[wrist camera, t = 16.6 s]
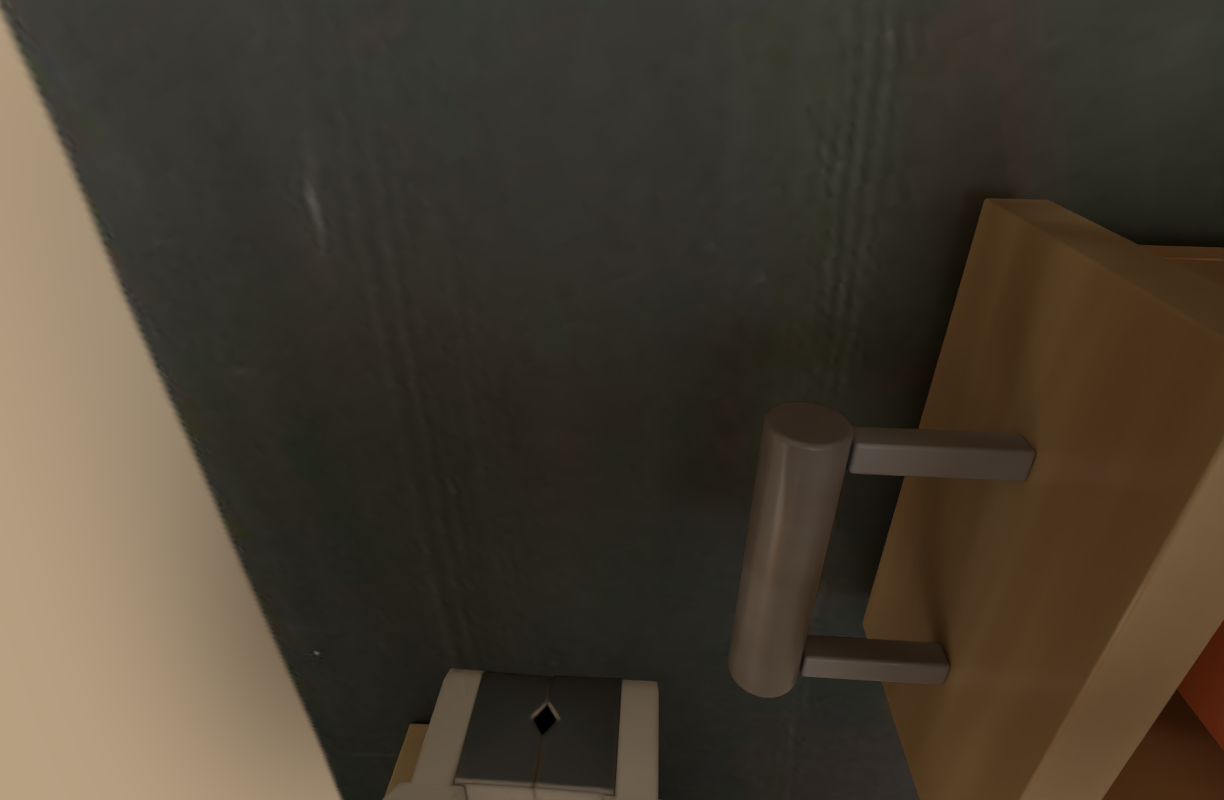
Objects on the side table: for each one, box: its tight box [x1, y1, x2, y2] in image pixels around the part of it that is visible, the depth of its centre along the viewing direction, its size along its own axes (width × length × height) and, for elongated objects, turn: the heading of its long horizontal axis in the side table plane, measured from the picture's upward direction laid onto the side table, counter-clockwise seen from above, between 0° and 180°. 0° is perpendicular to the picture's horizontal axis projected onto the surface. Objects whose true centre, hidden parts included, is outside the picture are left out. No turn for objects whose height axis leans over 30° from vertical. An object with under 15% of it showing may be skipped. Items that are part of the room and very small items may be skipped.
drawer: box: [728, 198, 1224, 800], centre depth 12 cm, size 16×11×7 cm
